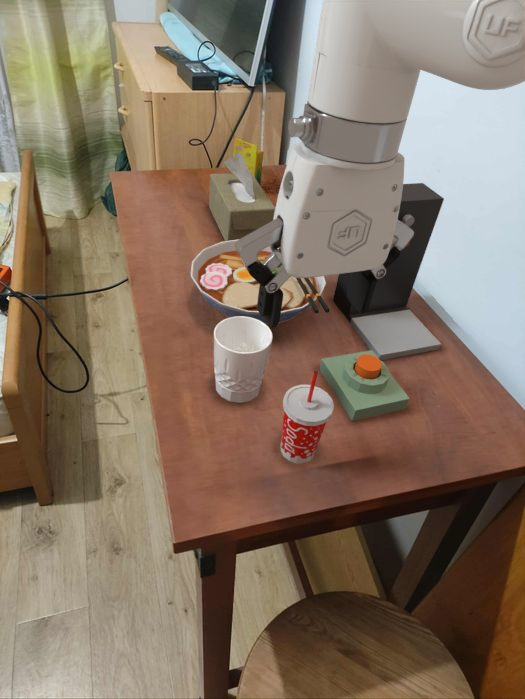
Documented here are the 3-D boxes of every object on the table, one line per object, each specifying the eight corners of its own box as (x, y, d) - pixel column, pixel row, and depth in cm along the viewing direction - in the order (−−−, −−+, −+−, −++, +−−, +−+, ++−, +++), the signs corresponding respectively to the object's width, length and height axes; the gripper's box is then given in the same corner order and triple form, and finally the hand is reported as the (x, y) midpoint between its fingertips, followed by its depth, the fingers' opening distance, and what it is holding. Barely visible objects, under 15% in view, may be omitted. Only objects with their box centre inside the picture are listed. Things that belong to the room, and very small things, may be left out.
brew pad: (405, 409, 75) (413, 389, 72) (351, 421, 72) (358, 401, 69) (369, 360, 82) (375, 341, 80) (319, 369, 79) (323, 349, 77)
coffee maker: (439, 349, 86) (490, 232, 72) (378, 360, 82) (419, 239, 68) (387, 293, 98) (422, 182, 84) (332, 300, 94) (359, 186, 80)
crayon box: (260, 190, 128) (265, 143, 120) (253, 194, 126) (257, 146, 119) (238, 181, 131) (241, 134, 124) (230, 184, 129) (233, 137, 122)
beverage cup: (265, 443, 67) (278, 365, 58) (300, 424, 70) (318, 348, 61) (294, 476, 64) (313, 398, 55) (330, 455, 67) (353, 378, 58)
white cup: (275, 394, 74) (284, 341, 68) (229, 414, 70) (234, 360, 64) (245, 362, 79) (251, 310, 72) (201, 379, 75) (203, 325, 69)
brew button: (383, 377, 74) (386, 368, 73) (361, 381, 73) (364, 372, 72) (371, 361, 77) (374, 352, 75) (350, 365, 75) (352, 356, 74)
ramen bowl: (180, 272, 96) (180, 233, 91) (294, 266, 102) (301, 229, 97) (202, 360, 78) (203, 318, 73) (339, 347, 84) (350, 307, 79)
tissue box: (208, 206, 118) (211, 137, 108) (248, 205, 121) (255, 137, 111) (227, 247, 105) (232, 172, 95) (272, 245, 108) (282, 171, 97)
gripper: (265, 155, 34) (244, 350, 45) (471, 148, 39) (407, 322, 51) (229, 118, 39) (218, 301, 50) (417, 116, 45) (369, 281, 56)
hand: (313, 311), depth 50 cm, fingers open, 9 cm apart
